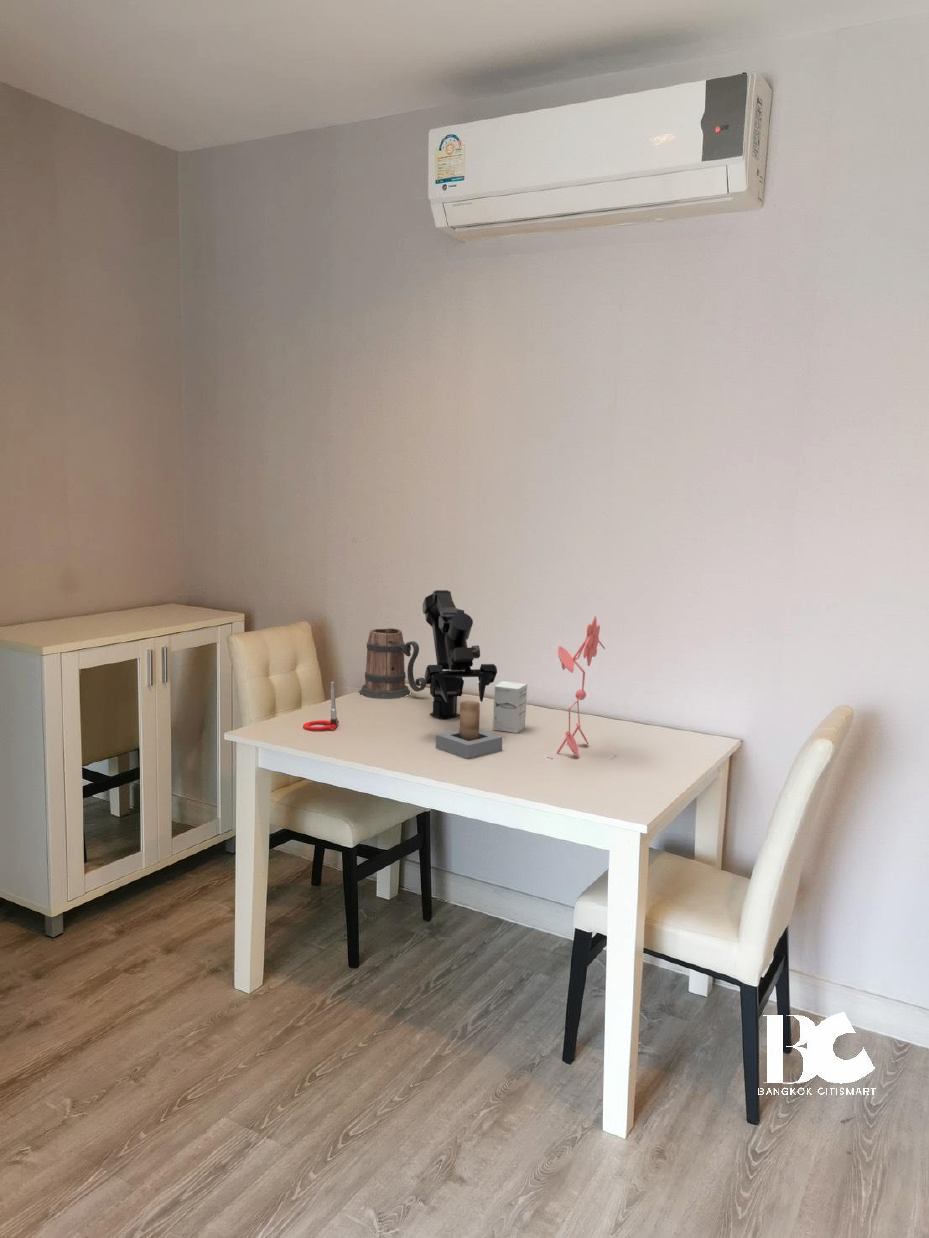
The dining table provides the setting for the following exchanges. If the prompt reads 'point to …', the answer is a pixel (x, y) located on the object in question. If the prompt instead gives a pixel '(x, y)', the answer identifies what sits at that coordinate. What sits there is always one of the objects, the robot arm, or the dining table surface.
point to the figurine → (569, 662)
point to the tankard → (389, 665)
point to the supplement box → (509, 706)
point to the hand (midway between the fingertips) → (464, 701)
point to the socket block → (468, 744)
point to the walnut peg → (469, 720)
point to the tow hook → (329, 724)
